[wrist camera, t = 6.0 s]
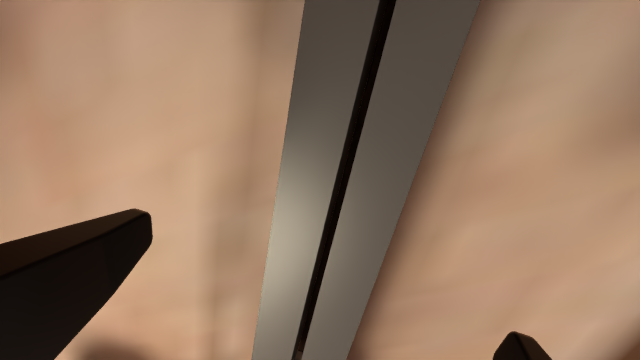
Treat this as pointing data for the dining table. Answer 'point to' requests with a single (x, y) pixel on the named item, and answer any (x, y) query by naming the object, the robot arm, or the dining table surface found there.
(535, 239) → the dining table surface
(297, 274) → the arm
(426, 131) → the tongs base
